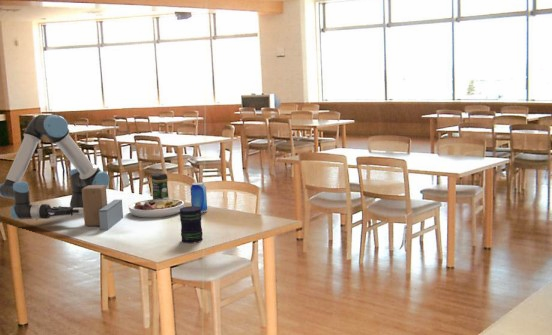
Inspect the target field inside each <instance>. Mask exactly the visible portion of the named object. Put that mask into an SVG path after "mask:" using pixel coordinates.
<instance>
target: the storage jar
mask: <svg viewBox="0 0 552 335" xmlns="http://www.w3.org/2000/svg"><path fill="white" fill-rule="evenodd" d="M179 220H180V227H181V228H180V237H181V242H182V243H185V244H195V243H194V242H196V243H199V241H200V242H202V241H203V228H202V213H201V207H197V206H192V205H191V206H184V207H183V208H180V212H179Z"/></svg>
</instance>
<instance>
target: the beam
mask: <svg viewBox="0 0 552 335" xmlns="http://www.w3.org/2000/svg"><path fill="white" fill-rule="evenodd" d="M99 219H100V226H99V230H100V231H109V230H110V229H112V228H113V227H114V226H115V225H117V224H118V223H119V222H120V221H121V220H122V219H124V210H123V199H113V200H112V201H111V202H109V203H107V205H106V206H104V207H103V208H102V209H100V210H99Z"/></svg>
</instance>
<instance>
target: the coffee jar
mask: <svg viewBox="0 0 552 335" xmlns="http://www.w3.org/2000/svg"><path fill="white" fill-rule="evenodd" d="M168 178H169V177H168V175H167V173H163V172H153V173H152V174H151V184H152V199H170V198H169V187H168V180H169V179H168Z"/></svg>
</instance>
